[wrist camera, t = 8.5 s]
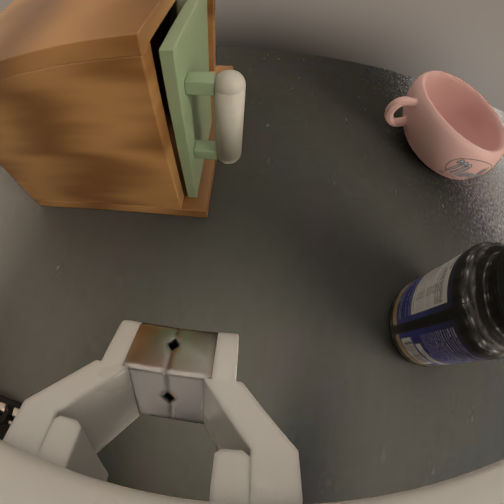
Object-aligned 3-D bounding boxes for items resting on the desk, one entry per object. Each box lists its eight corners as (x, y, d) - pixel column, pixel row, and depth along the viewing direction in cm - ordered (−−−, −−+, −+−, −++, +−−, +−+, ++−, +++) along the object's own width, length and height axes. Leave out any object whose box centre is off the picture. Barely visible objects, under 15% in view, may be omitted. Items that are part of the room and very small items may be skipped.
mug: (457, 119, 27) (483, 84, 21) (486, 199, 24) (524, 168, 18) (360, 96, 26) (380, 50, 21) (382, 183, 23) (417, 138, 18)
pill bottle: (461, 349, 19) (578, 325, 9) (397, 378, 18) (522, 376, 8) (441, 272, 21) (546, 210, 11) (375, 291, 20) (484, 225, 10)
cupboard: (233, 74, 26) (239, -63, 13) (207, 218, 21) (185, 31, 8) (99, 75, 26) (64, -39, 13) (40, 206, 21) (-64, 86, 8)
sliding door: (246, 125, 22) (258, -12, 12) (237, 201, 20) (246, 52, 10) (203, 122, 22) (195, -14, 12) (188, 197, 20) (157, 50, 9)
